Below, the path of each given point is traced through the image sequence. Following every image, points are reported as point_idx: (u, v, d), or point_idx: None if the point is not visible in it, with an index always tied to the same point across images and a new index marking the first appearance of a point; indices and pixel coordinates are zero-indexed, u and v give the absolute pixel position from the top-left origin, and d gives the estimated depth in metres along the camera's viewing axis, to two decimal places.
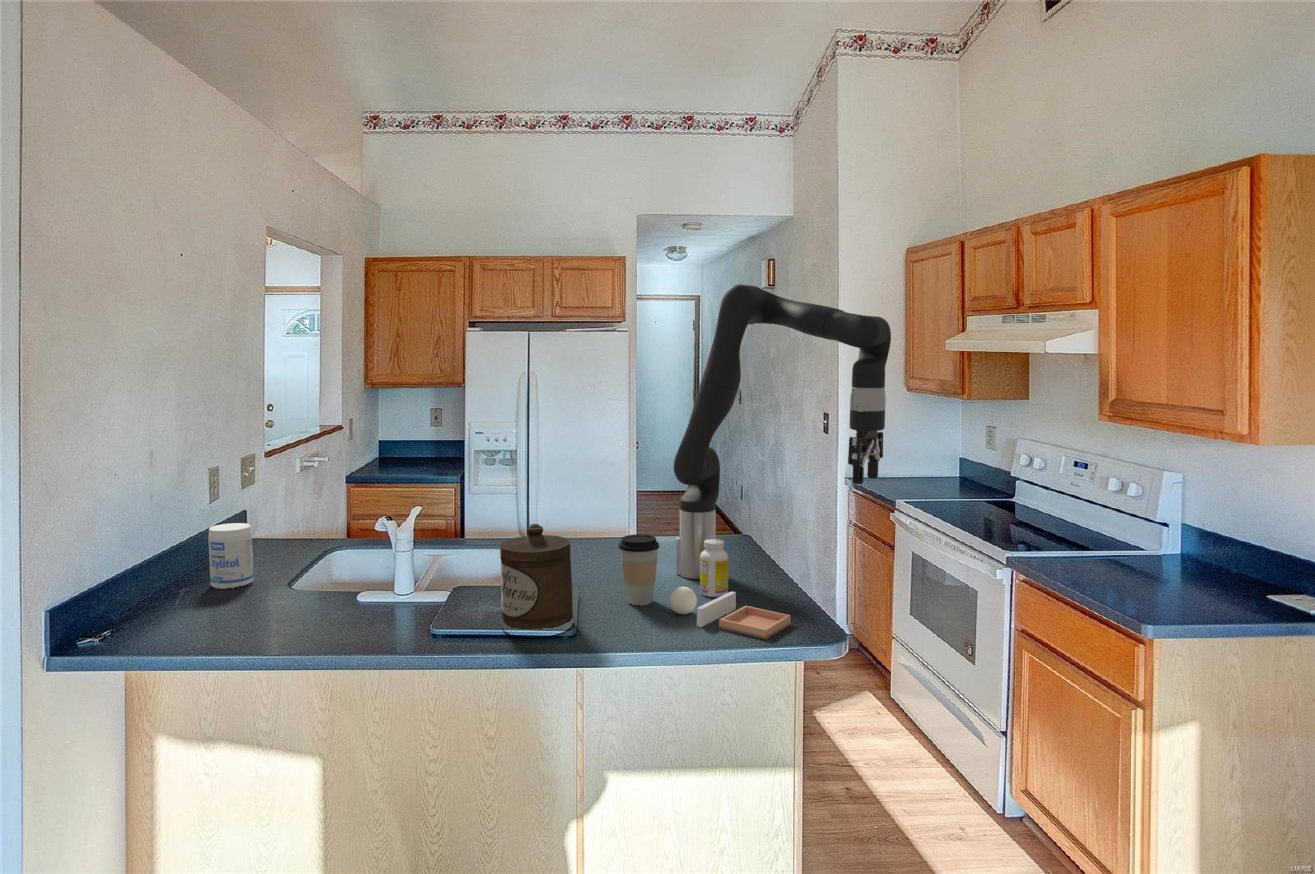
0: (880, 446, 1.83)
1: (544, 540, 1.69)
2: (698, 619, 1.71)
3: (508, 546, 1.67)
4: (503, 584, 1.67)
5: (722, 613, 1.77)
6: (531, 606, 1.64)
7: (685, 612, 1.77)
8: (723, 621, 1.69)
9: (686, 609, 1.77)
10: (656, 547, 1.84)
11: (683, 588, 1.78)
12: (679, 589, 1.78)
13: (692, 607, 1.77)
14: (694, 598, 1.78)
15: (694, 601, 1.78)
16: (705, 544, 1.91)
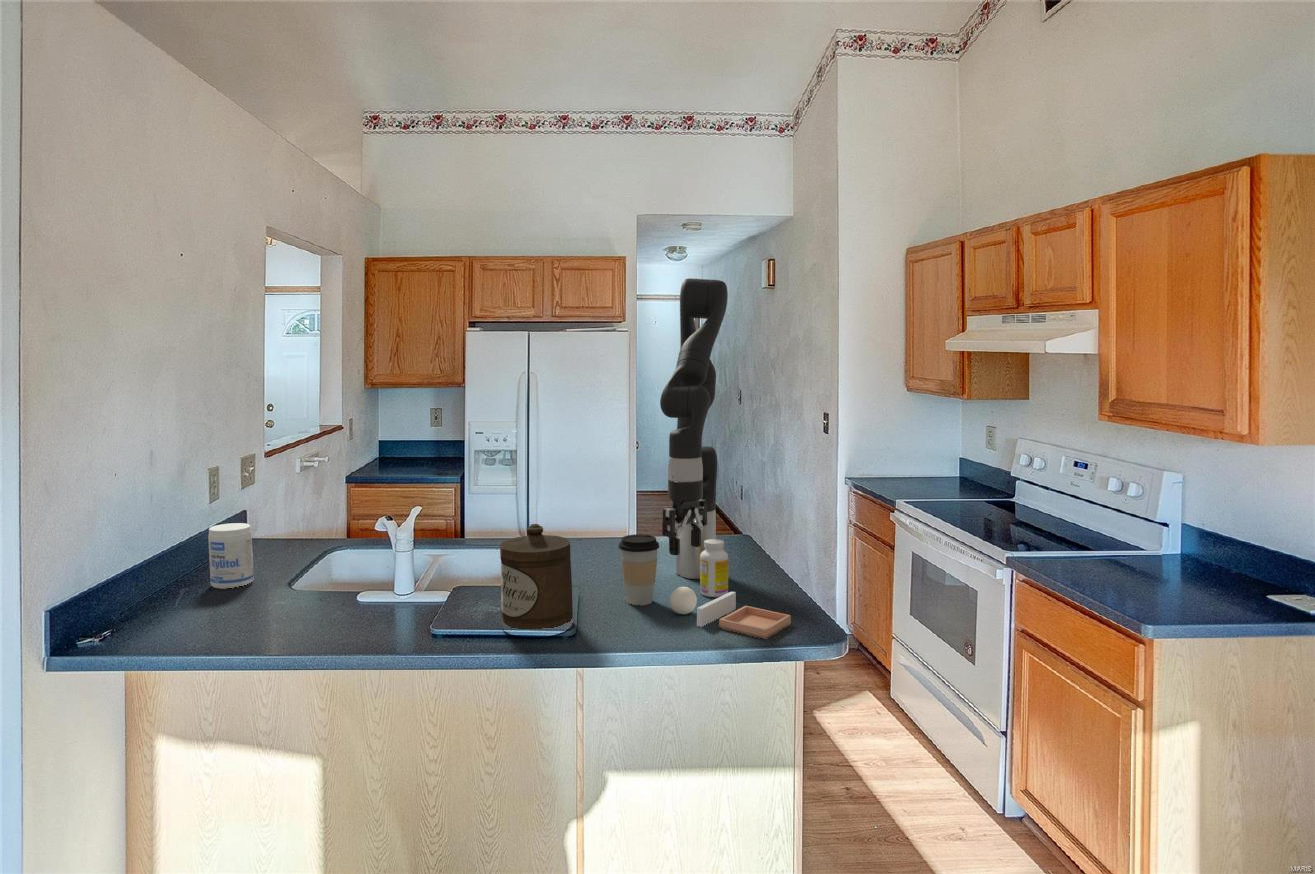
0: (703, 514, 1.81)
1: (544, 540, 1.69)
2: (698, 619, 1.71)
3: (508, 546, 1.67)
4: (503, 584, 1.67)
5: (722, 613, 1.77)
6: (531, 606, 1.64)
7: (685, 612, 1.77)
8: (723, 621, 1.69)
9: (686, 609, 1.77)
10: (656, 547, 1.84)
11: (683, 588, 1.78)
12: (679, 589, 1.78)
13: (692, 607, 1.77)
14: (694, 598, 1.78)
15: (694, 601, 1.78)
16: (705, 544, 1.91)
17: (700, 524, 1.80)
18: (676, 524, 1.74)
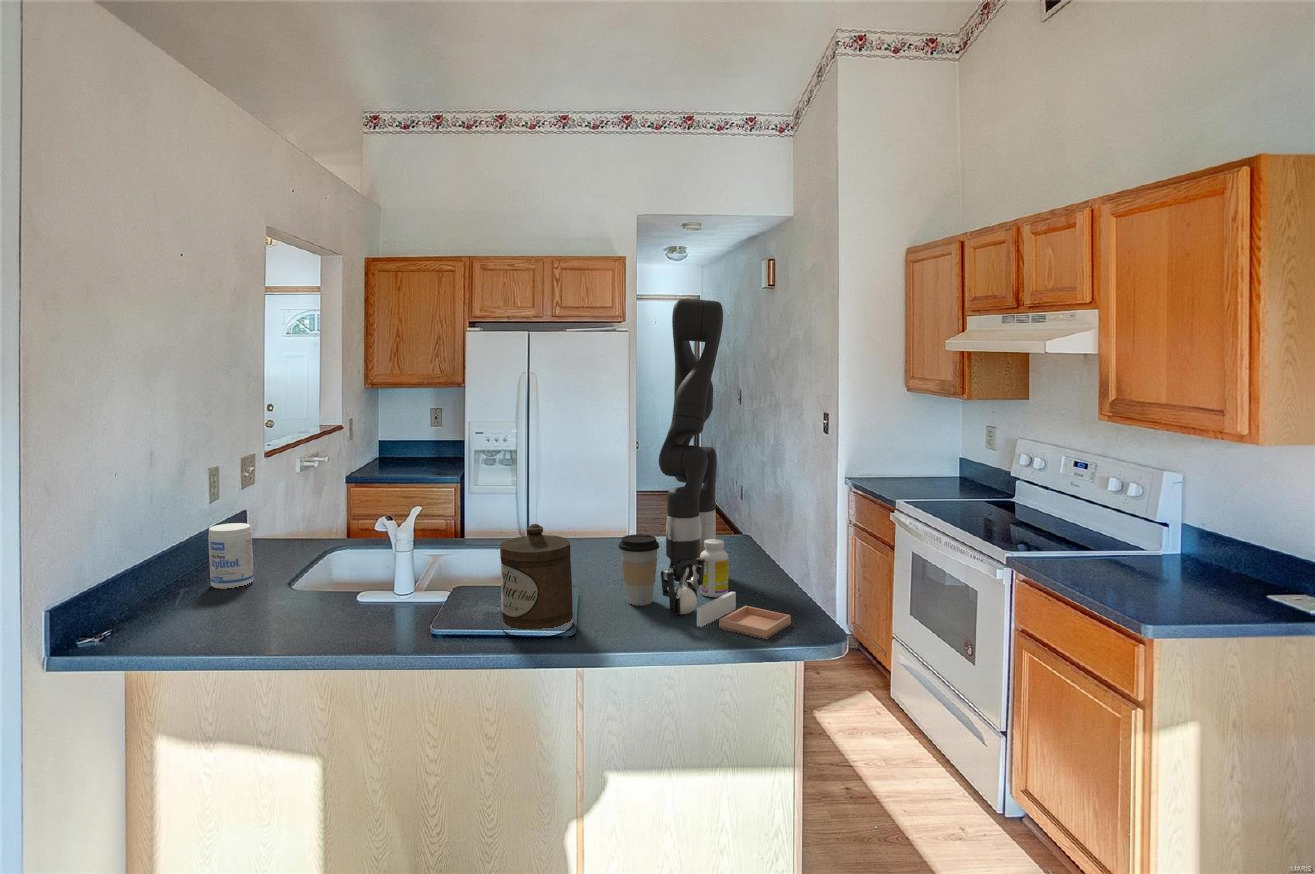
0: (700, 573, 1.82)
1: (544, 540, 1.69)
2: (698, 619, 1.71)
3: (508, 546, 1.67)
4: (503, 584, 1.67)
5: (722, 613, 1.77)
6: (531, 605, 1.64)
7: (685, 612, 1.77)
8: (723, 621, 1.69)
9: (685, 609, 1.77)
10: (656, 547, 1.84)
11: (683, 588, 1.78)
12: None
13: (692, 607, 1.77)
14: (694, 598, 1.78)
15: (694, 601, 1.78)
16: (705, 544, 1.91)
17: (695, 584, 1.81)
18: (675, 584, 1.76)
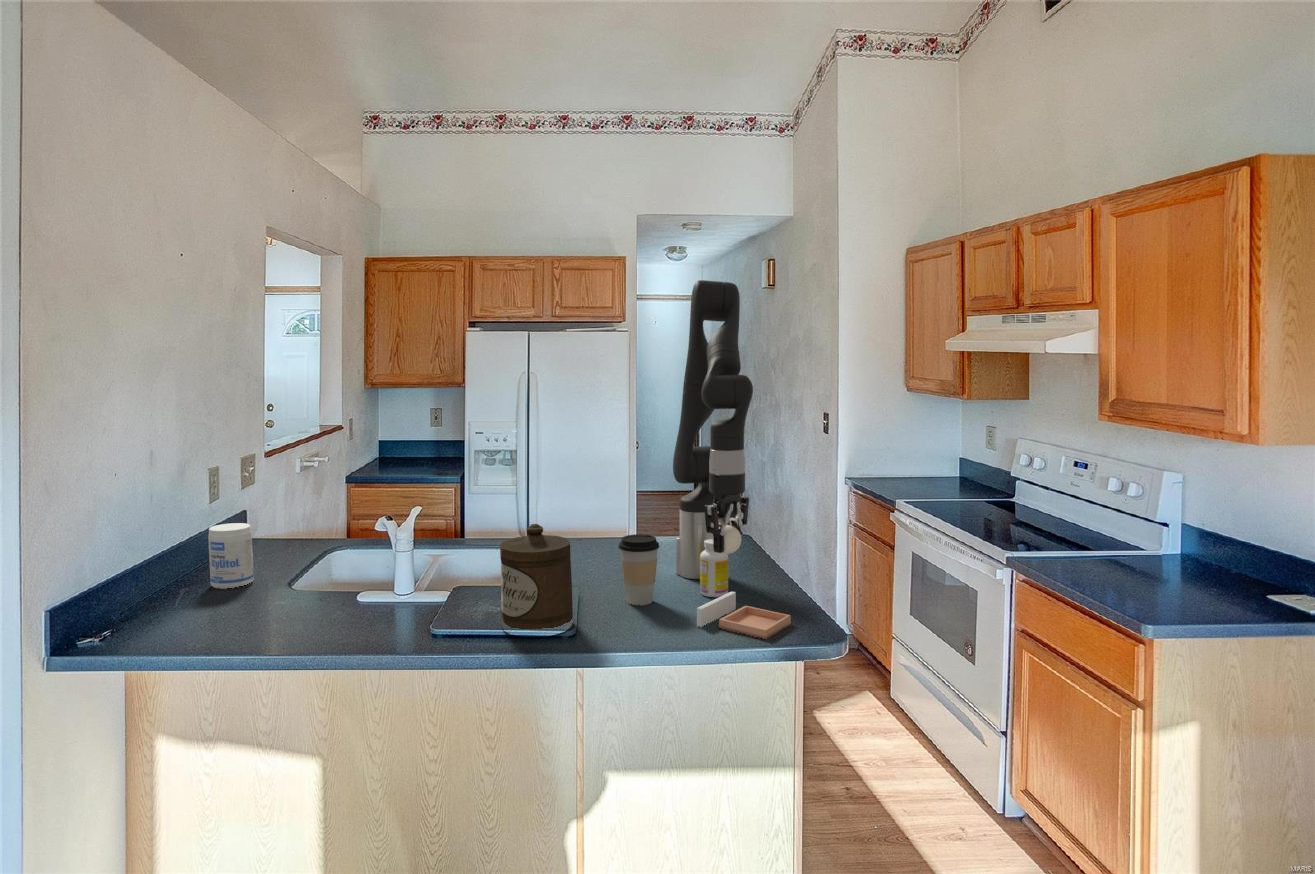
0: (744, 512, 1.75)
1: (544, 540, 1.69)
2: (698, 619, 1.71)
3: (508, 546, 1.67)
4: (503, 584, 1.67)
5: (722, 613, 1.77)
6: (531, 605, 1.64)
7: (729, 551, 1.70)
8: (723, 621, 1.69)
9: (730, 547, 1.69)
10: (656, 547, 1.84)
11: (727, 526, 1.71)
12: None
13: (737, 545, 1.70)
14: (739, 536, 1.70)
15: (739, 539, 1.70)
16: (705, 544, 1.91)
17: (740, 523, 1.73)
18: (719, 520, 1.68)
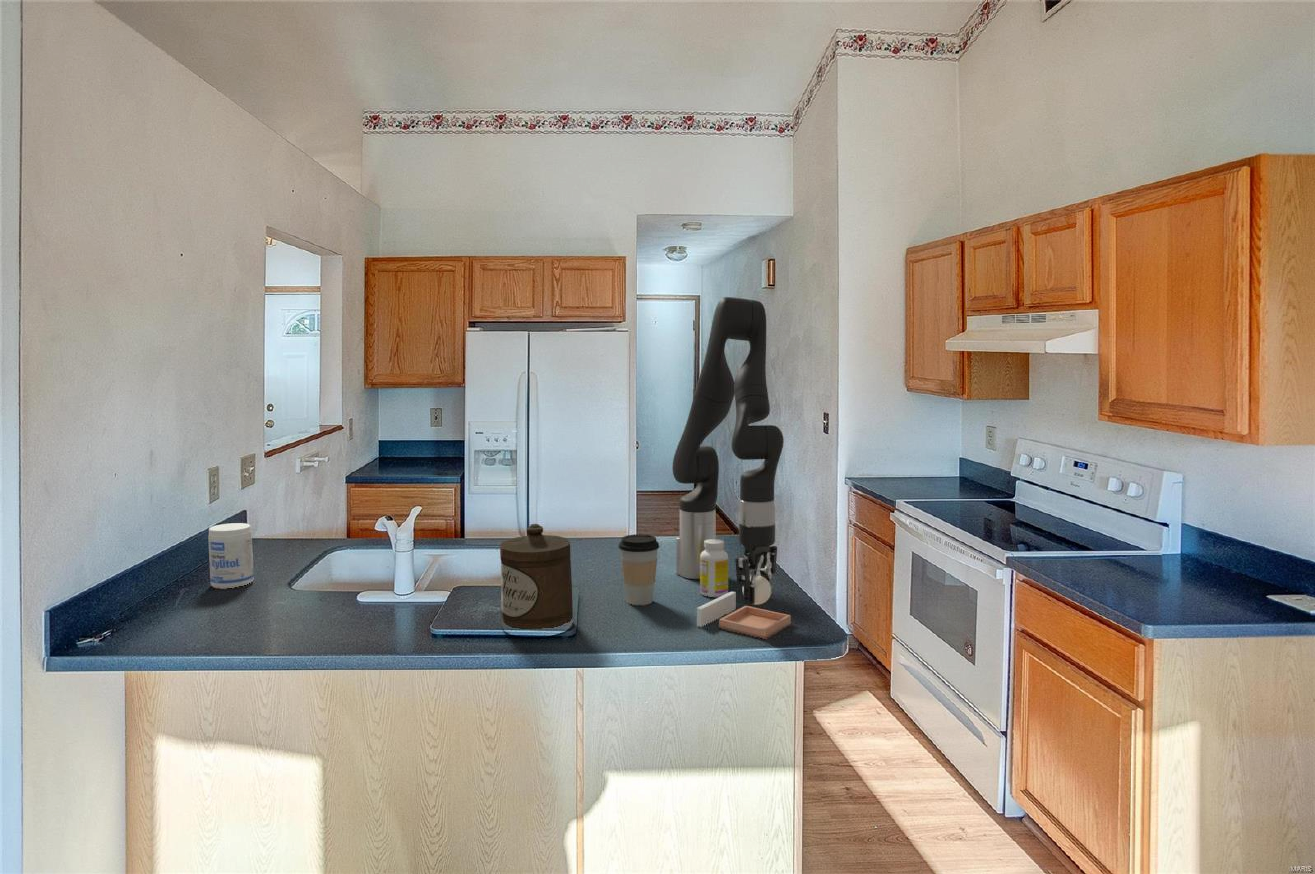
0: (773, 561, 1.73)
1: (544, 540, 1.69)
2: (698, 619, 1.71)
3: (508, 546, 1.67)
4: (503, 584, 1.67)
5: (722, 613, 1.77)
6: (531, 605, 1.64)
7: (760, 602, 1.68)
8: (723, 621, 1.69)
9: (760, 599, 1.68)
10: (656, 547, 1.84)
11: (757, 577, 1.69)
12: None
13: (767, 597, 1.68)
14: (769, 587, 1.69)
15: (769, 590, 1.68)
16: (705, 544, 1.91)
17: (769, 573, 1.72)
18: (750, 572, 1.67)
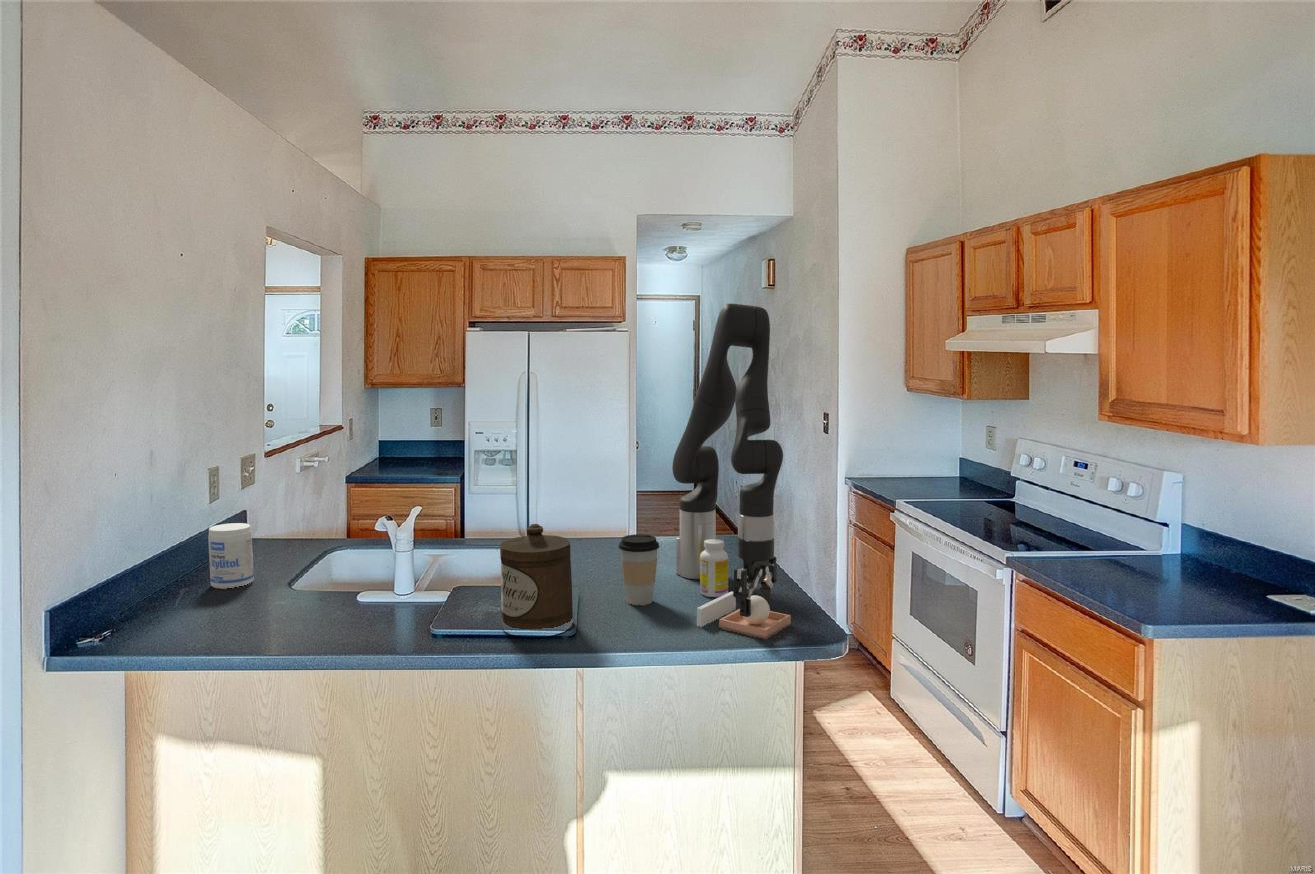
0: (773, 571, 1.74)
1: (544, 540, 1.69)
2: (698, 619, 1.71)
3: (508, 546, 1.67)
4: (503, 584, 1.67)
5: (722, 613, 1.77)
6: (531, 605, 1.64)
7: (758, 622, 1.69)
8: (723, 621, 1.69)
9: (759, 619, 1.68)
10: (656, 547, 1.84)
11: (756, 597, 1.70)
12: (751, 598, 1.70)
13: (765, 617, 1.69)
14: (767, 608, 1.69)
15: (767, 611, 1.69)
16: (705, 544, 1.91)
17: (770, 582, 1.73)
18: (747, 584, 1.67)
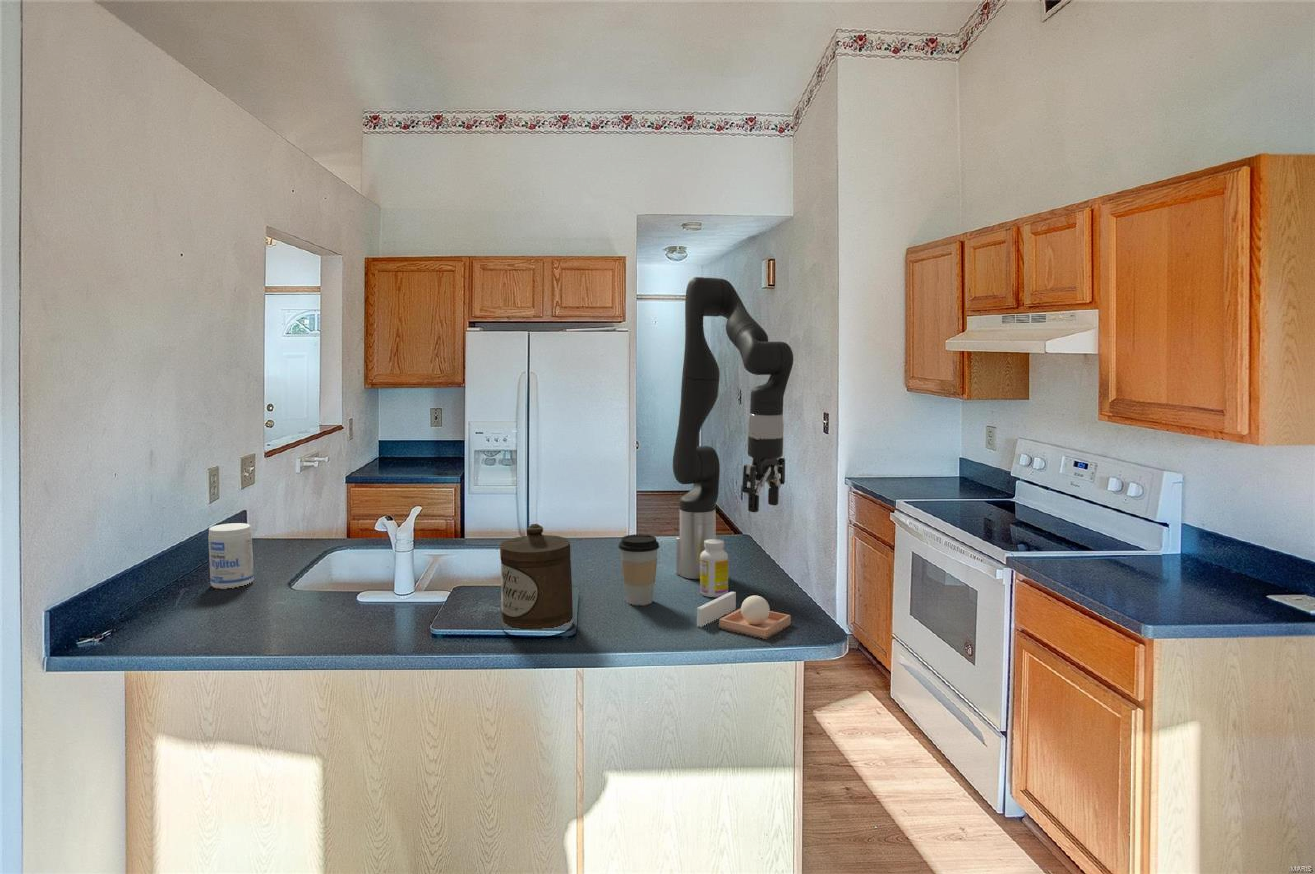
0: (781, 472, 1.80)
1: (544, 540, 1.69)
2: (698, 619, 1.71)
3: (508, 546, 1.67)
4: (503, 584, 1.67)
5: (722, 613, 1.77)
6: (531, 605, 1.64)
7: (758, 622, 1.69)
8: (723, 621, 1.69)
9: (759, 619, 1.68)
10: (656, 547, 1.84)
11: (755, 597, 1.70)
12: (751, 598, 1.70)
13: (765, 617, 1.69)
14: (767, 608, 1.69)
15: (767, 611, 1.69)
16: (705, 544, 1.91)
17: (778, 482, 1.79)
18: (756, 481, 1.73)
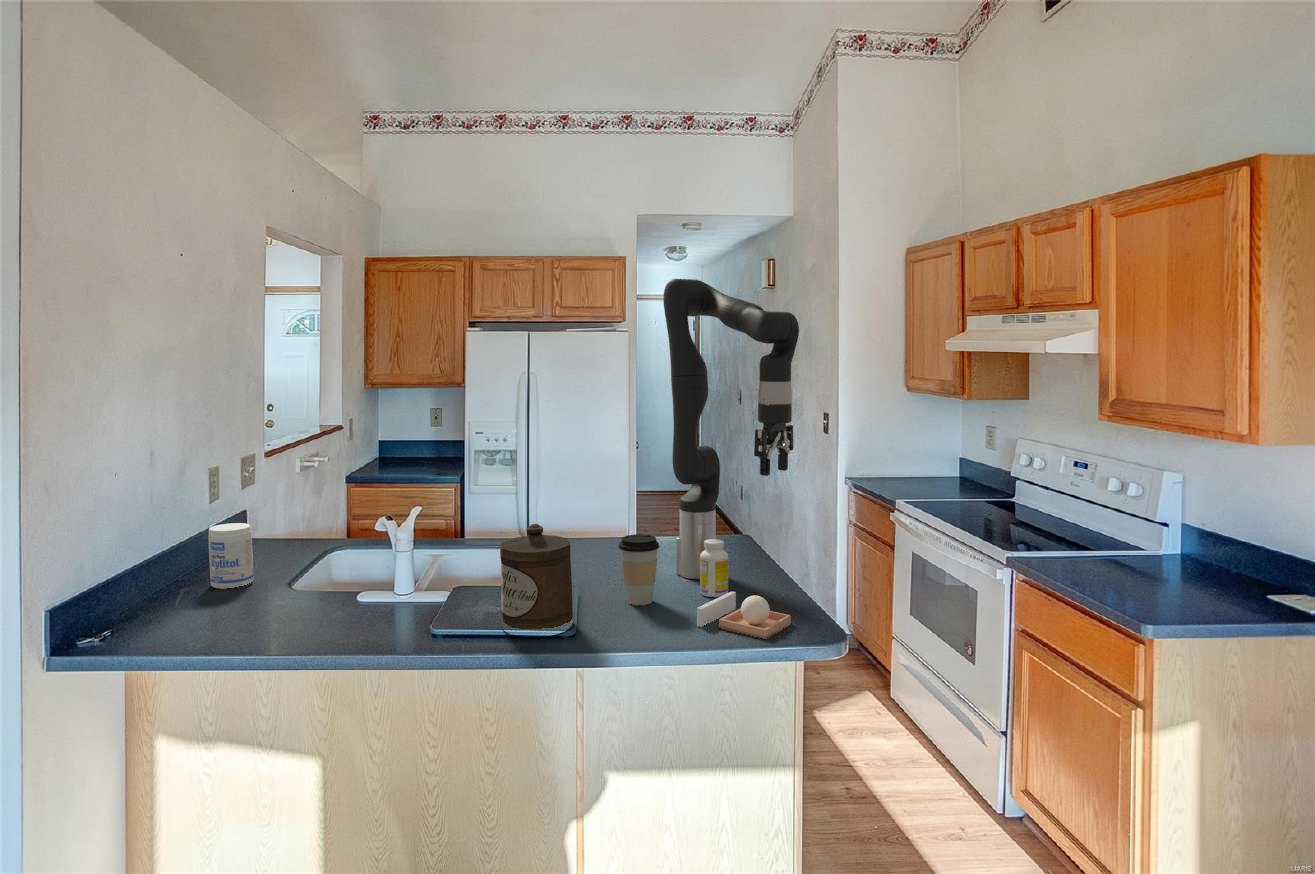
0: (790, 439, 1.88)
1: (544, 540, 1.69)
2: (698, 619, 1.71)
3: (508, 546, 1.67)
4: (503, 584, 1.67)
5: (722, 613, 1.77)
6: (531, 605, 1.64)
7: (758, 622, 1.69)
8: (723, 621, 1.69)
9: (759, 619, 1.68)
10: (656, 547, 1.84)
11: (755, 597, 1.70)
12: (751, 598, 1.70)
13: (765, 617, 1.69)
14: (767, 608, 1.69)
15: (767, 611, 1.69)
16: (705, 544, 1.91)
17: (787, 448, 1.86)
18: (767, 445, 1.80)
